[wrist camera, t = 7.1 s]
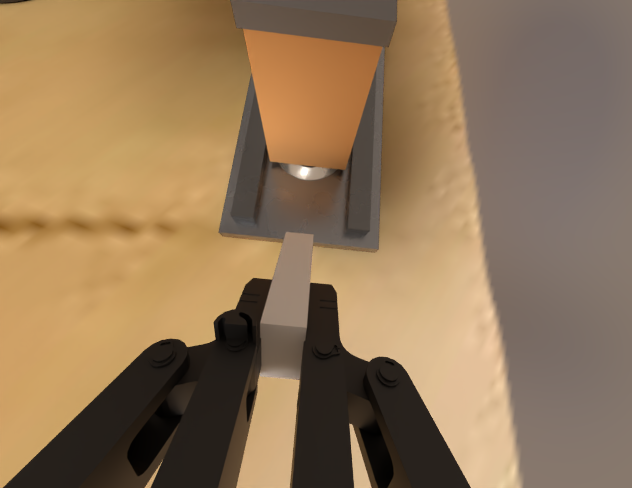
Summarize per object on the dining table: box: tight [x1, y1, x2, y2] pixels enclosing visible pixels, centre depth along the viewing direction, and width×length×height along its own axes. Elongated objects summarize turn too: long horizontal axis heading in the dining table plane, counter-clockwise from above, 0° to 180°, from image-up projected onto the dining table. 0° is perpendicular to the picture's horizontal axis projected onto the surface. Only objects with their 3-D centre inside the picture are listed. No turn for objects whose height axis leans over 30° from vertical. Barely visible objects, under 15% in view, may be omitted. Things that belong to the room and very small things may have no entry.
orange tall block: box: [230, 0, 397, 170], centre depth 16 cm, size 5×6×11 cm
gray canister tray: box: [219, 47, 385, 252], centre depth 18 cm, size 28×12×12 cm, turn 174°
